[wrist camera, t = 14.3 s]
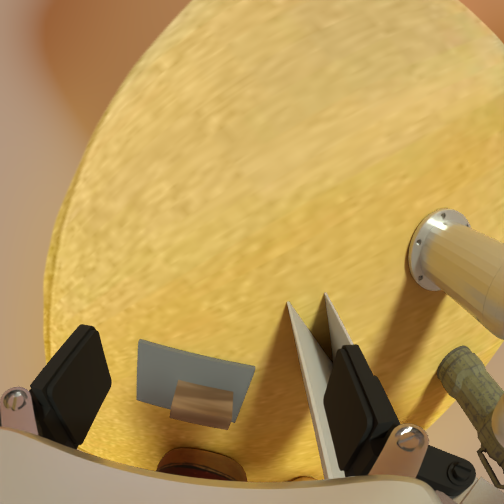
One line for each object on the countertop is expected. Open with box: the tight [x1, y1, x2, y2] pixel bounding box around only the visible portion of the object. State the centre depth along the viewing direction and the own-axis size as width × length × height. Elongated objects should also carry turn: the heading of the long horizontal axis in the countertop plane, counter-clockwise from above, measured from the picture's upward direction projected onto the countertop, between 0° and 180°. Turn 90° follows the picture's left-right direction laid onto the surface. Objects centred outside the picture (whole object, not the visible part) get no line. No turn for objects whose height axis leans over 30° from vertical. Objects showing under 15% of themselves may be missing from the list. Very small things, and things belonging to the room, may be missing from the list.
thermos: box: [437, 346, 504, 489], centre depth 28 cm, size 9×12×35 cm
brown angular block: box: [170, 380, 233, 430], centre depth 40 cm, size 3×9×6 cm, turn 75°
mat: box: [137, 339, 255, 423], centre depth 43 cm, size 18×14×1 cm
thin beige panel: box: [287, 293, 355, 479], centre depth 27 cm, size 14×6×30 cm, turn 14°
